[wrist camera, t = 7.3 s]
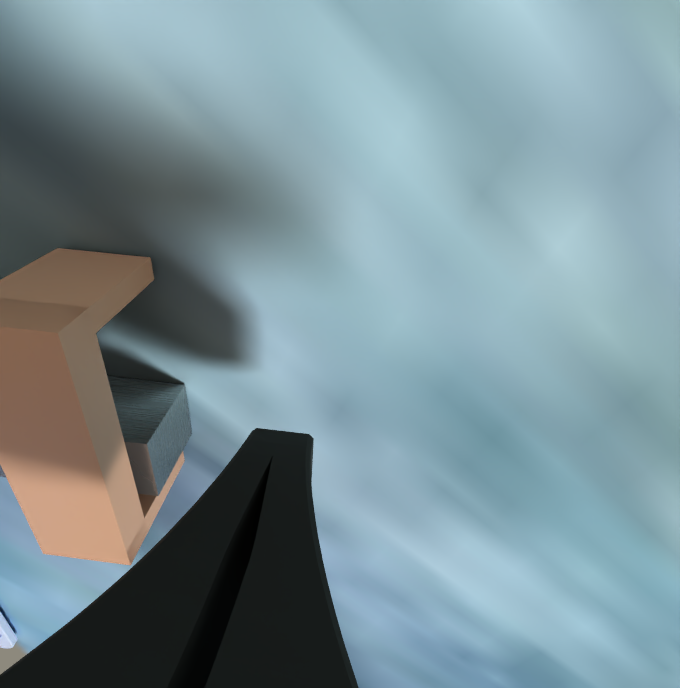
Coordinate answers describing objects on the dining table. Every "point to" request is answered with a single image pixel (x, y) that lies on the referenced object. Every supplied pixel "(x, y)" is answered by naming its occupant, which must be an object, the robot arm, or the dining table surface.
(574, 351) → the dining table surface
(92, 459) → the sleeve
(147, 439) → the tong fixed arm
